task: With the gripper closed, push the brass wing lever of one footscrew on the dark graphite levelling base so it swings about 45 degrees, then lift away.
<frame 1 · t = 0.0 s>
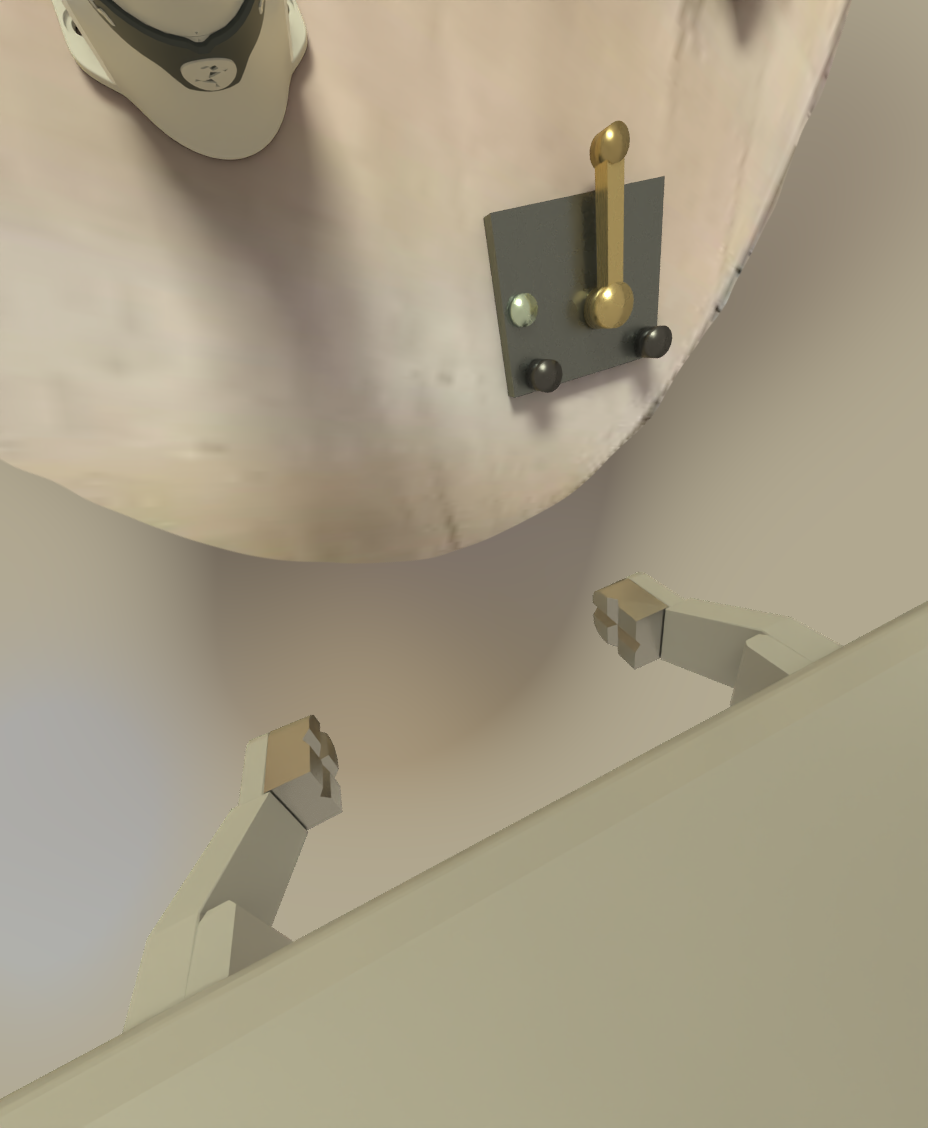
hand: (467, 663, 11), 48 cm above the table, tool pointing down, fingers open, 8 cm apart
levelling base: (576, 295, 54), on the table
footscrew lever: (607, 239, 48), point 4 cm above the table, hinge at 0.0°
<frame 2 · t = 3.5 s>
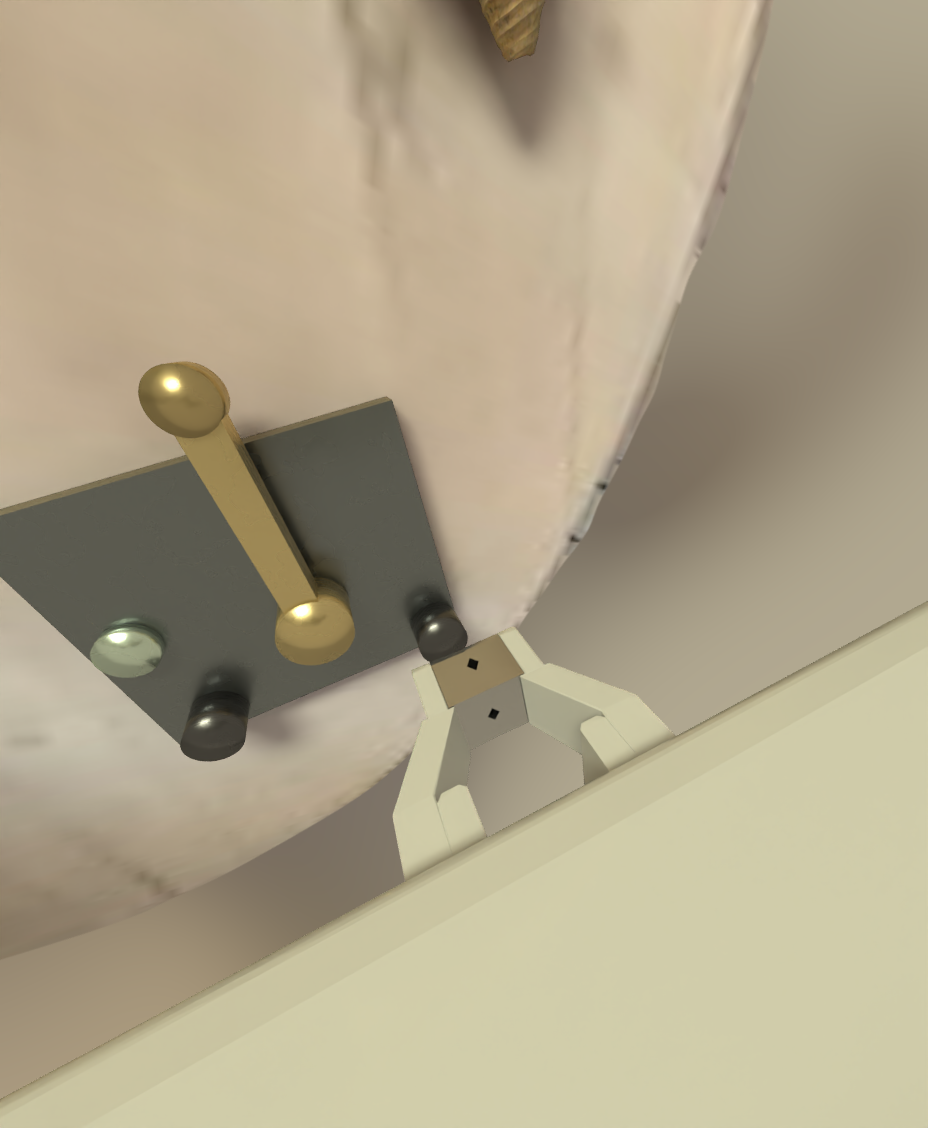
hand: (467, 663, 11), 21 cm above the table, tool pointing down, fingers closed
levelling base: (276, 579, 30), on the table
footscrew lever: (267, 534, 24), point 4 cm above the table, hinge at 0.0°
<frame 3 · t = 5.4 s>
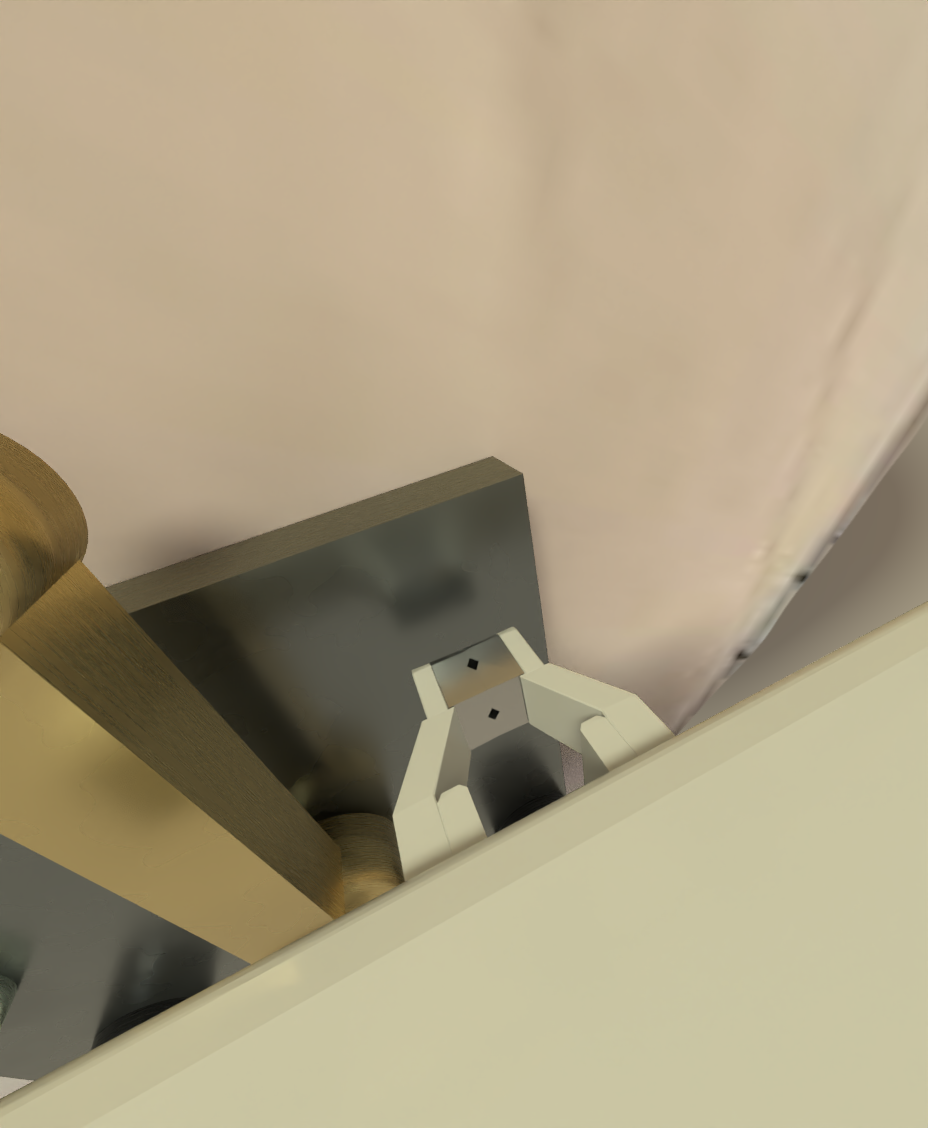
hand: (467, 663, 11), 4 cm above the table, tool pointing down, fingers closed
levelling base: (257, 798, 15), on the table
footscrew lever: (223, 817, 10), point 4 cm above the table, hinge at 0.0°
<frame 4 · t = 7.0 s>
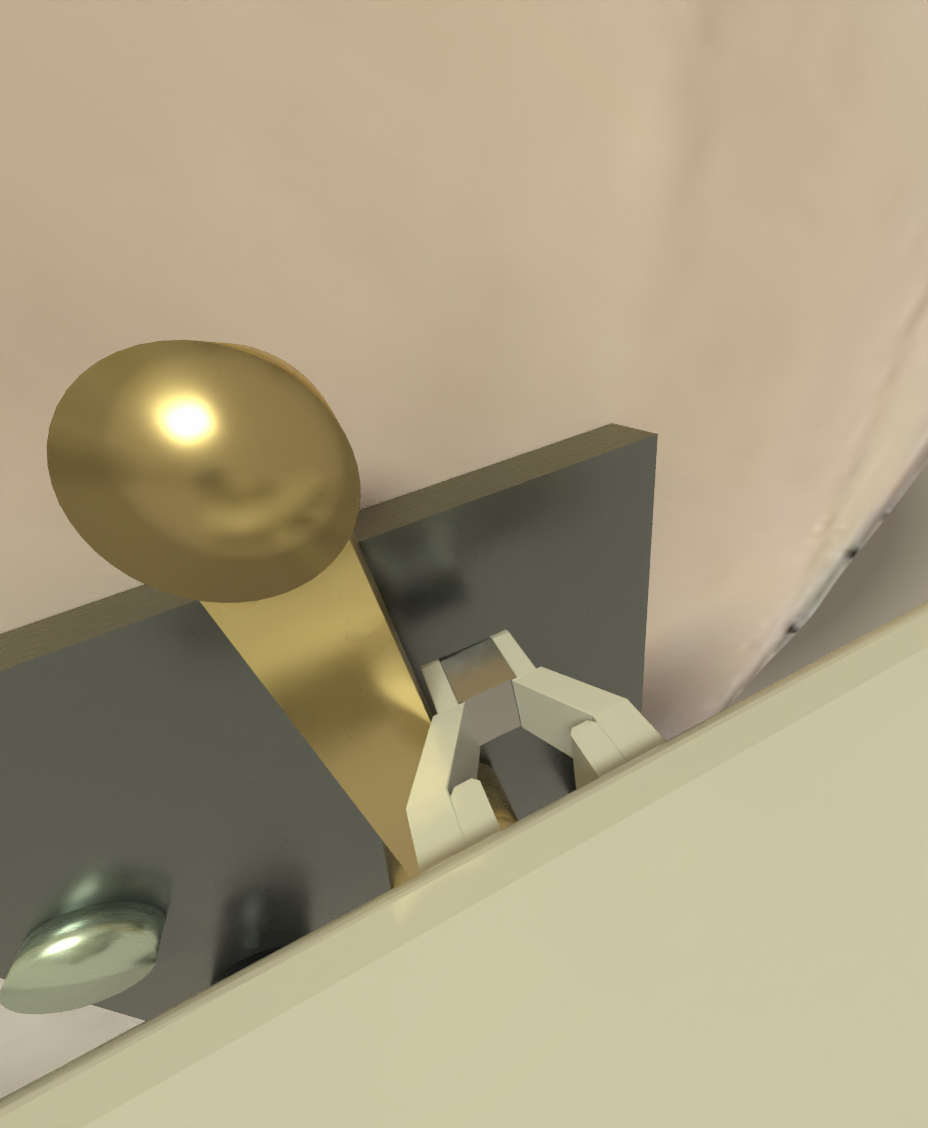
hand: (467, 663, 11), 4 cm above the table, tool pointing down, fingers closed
levelling base: (369, 752, 16), on the table
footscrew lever: (397, 743, 10), point 4 cm above the table, hinge at 0.7°, touching gripper
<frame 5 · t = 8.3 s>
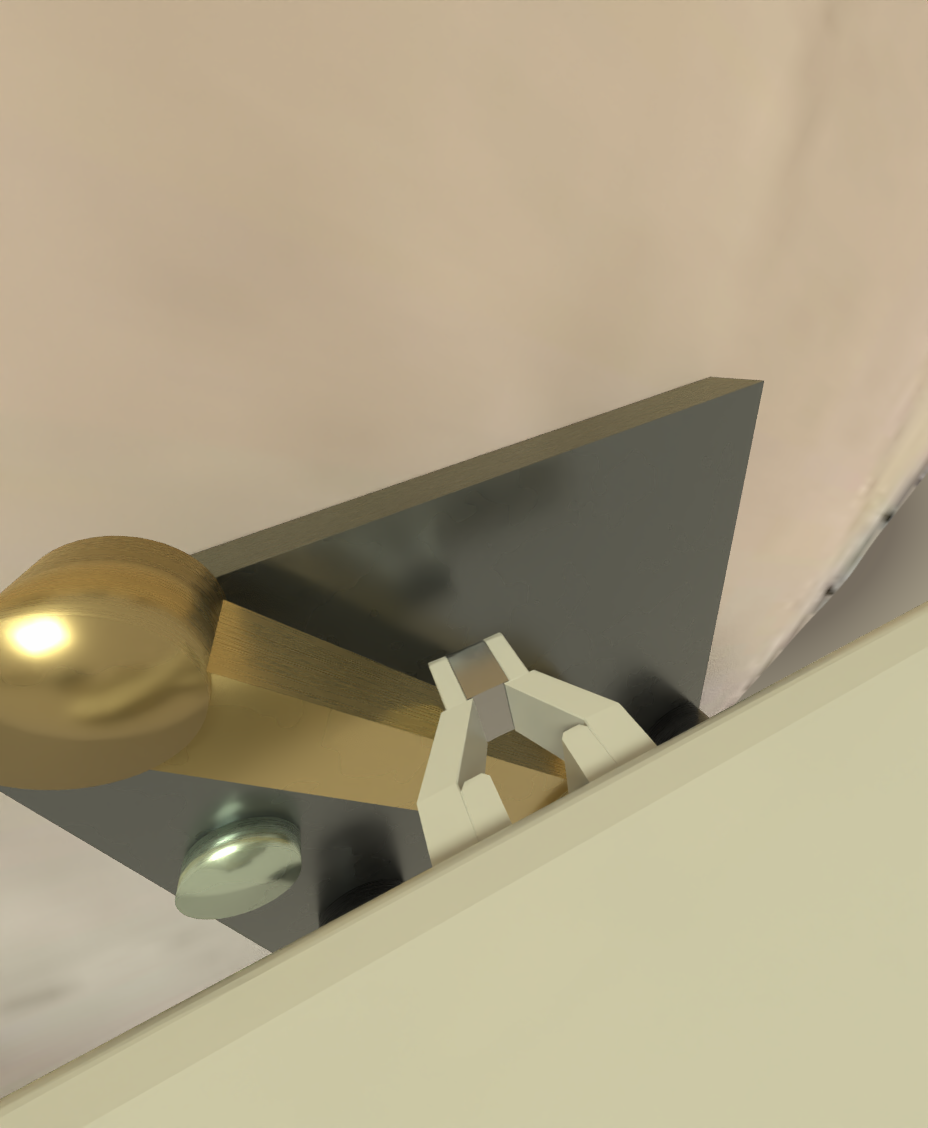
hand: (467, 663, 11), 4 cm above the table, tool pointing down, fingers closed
levelling base: (468, 692, 17), on the table
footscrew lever: (436, 737, 11), point 4 cm above the table, hinge at 34.1°, touching gripper
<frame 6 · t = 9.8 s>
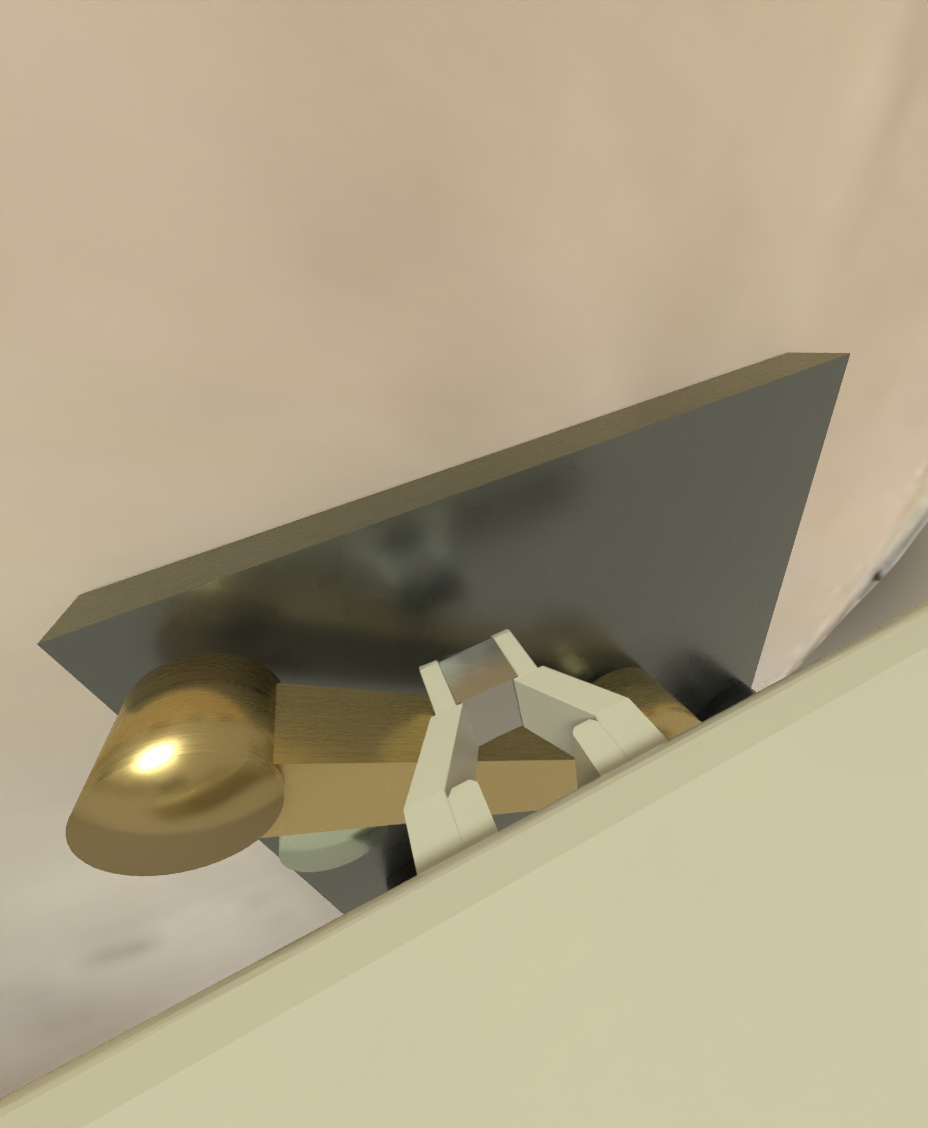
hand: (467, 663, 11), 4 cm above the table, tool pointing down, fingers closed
levelling base: (535, 665, 18), on the table
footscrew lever: (497, 744, 12), point 4 cm above the table, hinge at 50.5°, touching gripper
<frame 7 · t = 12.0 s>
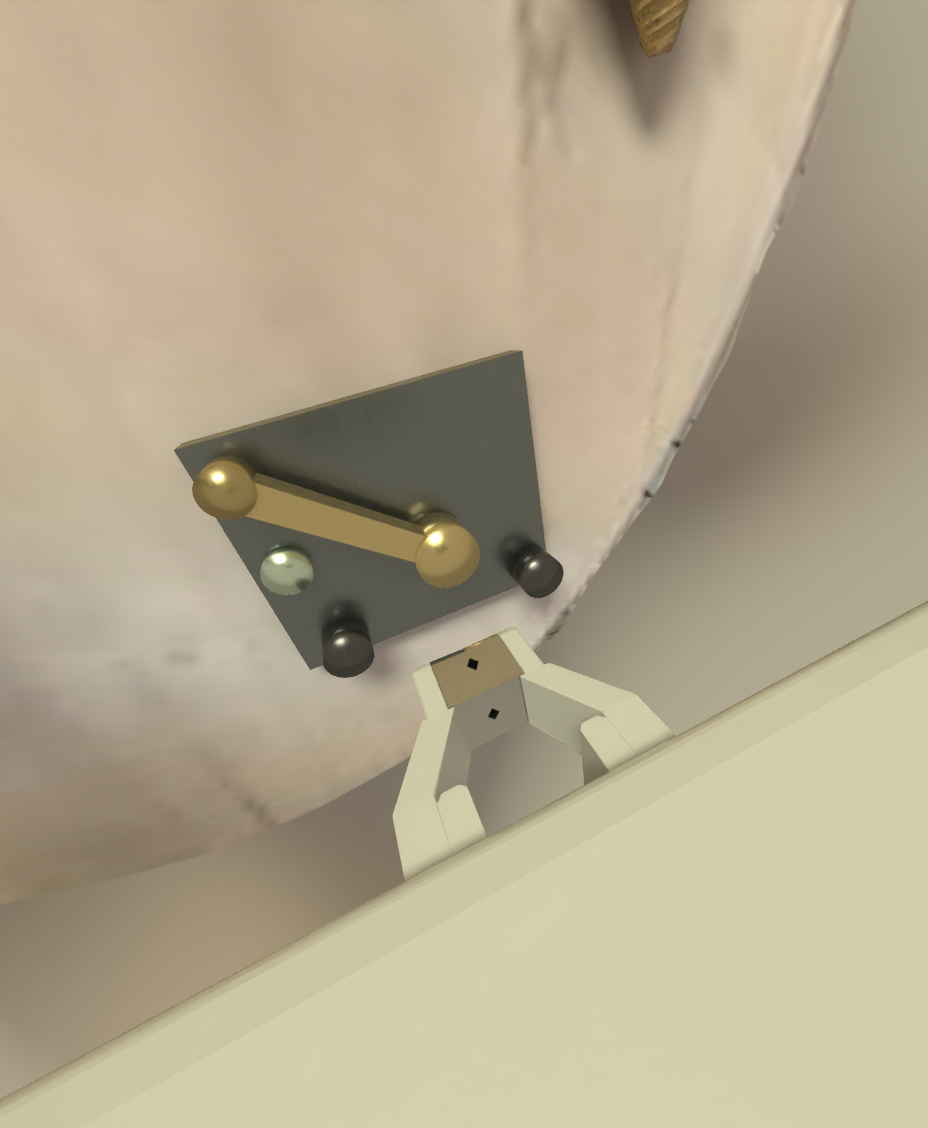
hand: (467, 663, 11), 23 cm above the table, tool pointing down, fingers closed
levelling base: (400, 517, 33), on the table
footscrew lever: (356, 523, 28), point 4 cm above the table, hinge at 50.8°
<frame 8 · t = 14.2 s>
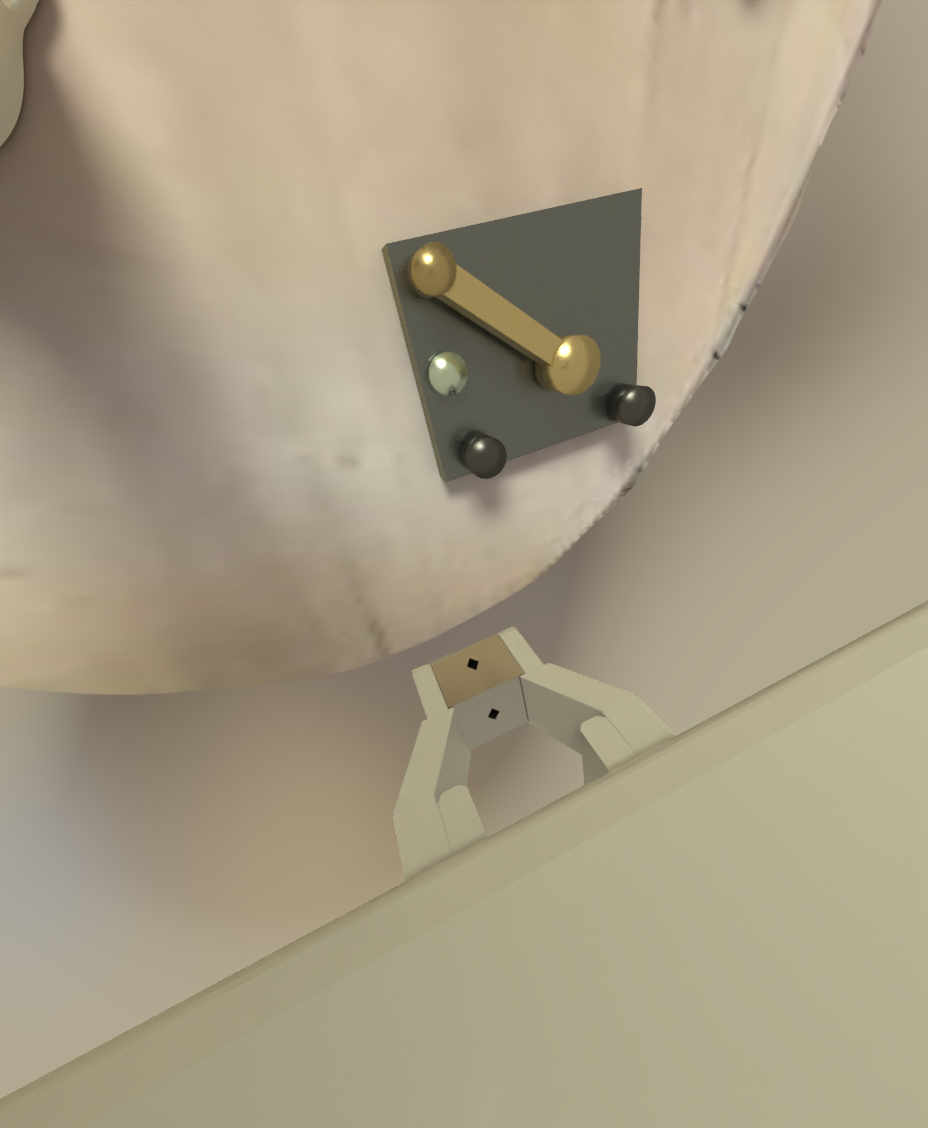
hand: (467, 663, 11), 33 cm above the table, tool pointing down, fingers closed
levelling base: (526, 347, 40), on the table
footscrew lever: (509, 326, 35), point 4 cm above the table, hinge at 50.8°
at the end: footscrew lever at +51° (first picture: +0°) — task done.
